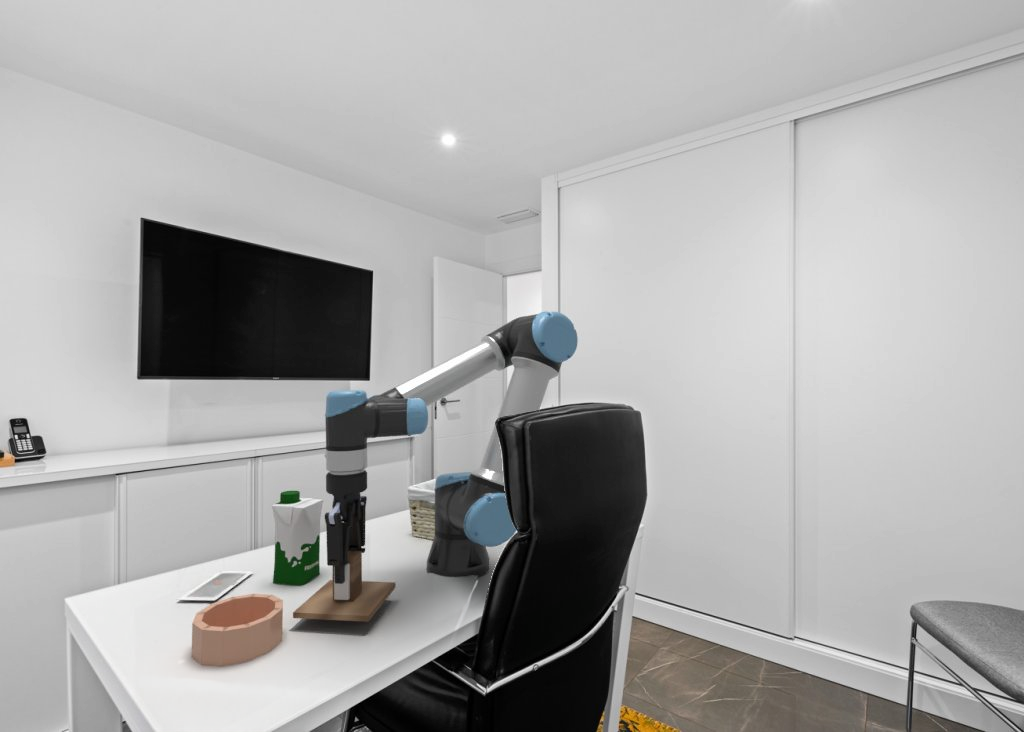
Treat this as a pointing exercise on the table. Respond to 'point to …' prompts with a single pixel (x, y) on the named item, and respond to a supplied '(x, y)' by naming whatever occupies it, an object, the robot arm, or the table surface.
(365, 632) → the mat
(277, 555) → the milk carton
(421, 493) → the storage basket
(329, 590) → the cover board
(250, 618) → the bowl
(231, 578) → the touchpad
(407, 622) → the table surface
